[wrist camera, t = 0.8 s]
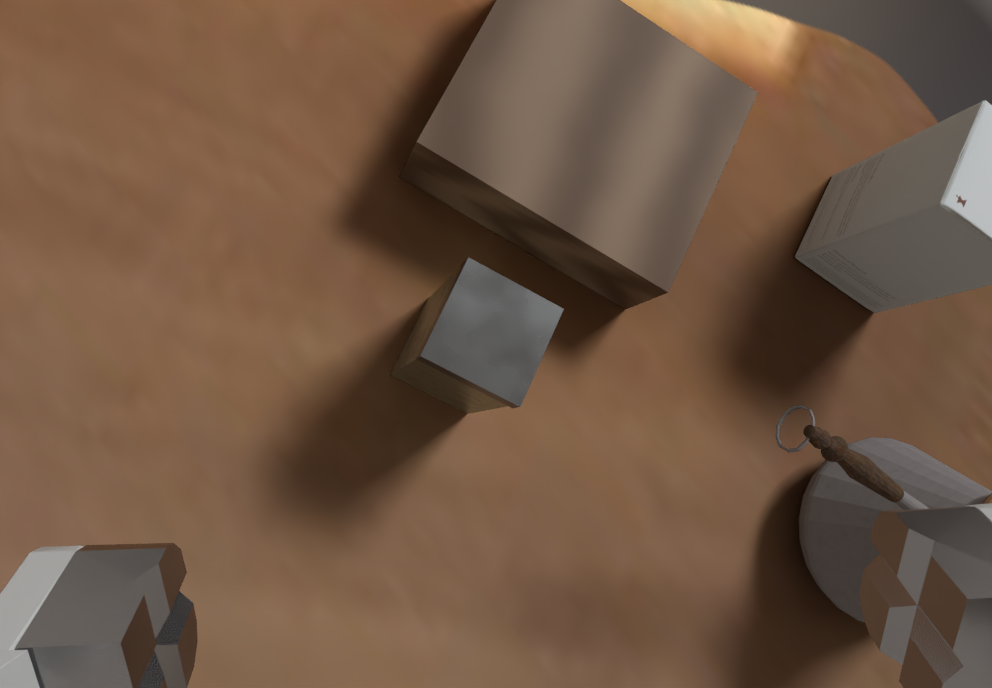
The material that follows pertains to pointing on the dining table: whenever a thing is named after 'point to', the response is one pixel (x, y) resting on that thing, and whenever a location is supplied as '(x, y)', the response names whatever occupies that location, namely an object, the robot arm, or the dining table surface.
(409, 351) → the sage tea tin
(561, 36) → the walnut box
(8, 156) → the dining table surface
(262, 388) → the dining table surface
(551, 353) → the dining table surface
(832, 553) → the coffee pot
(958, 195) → the supplement box
